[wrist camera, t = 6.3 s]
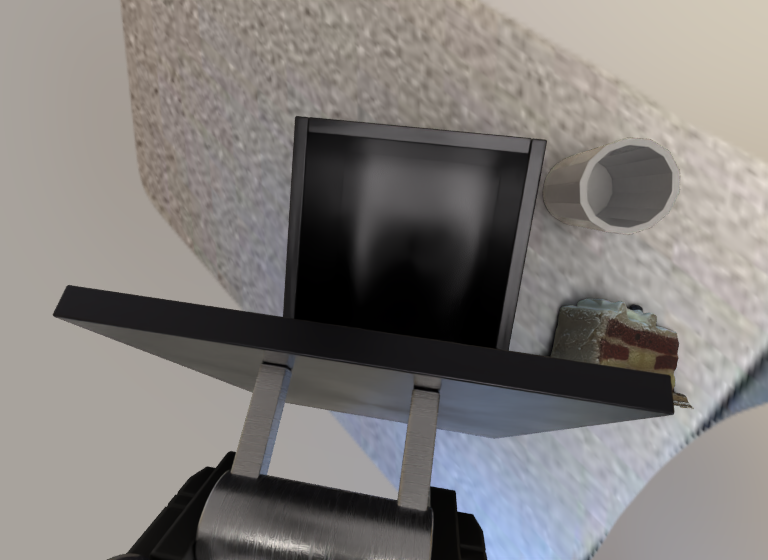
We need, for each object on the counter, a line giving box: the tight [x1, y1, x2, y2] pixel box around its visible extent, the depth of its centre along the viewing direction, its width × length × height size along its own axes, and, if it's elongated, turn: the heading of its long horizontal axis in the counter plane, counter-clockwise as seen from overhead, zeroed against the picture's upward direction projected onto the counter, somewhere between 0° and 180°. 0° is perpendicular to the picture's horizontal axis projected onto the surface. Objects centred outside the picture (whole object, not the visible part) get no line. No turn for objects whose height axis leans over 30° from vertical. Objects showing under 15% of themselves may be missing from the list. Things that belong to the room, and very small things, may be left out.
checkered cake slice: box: [551, 298, 693, 409], centre depth 31 cm, size 10×7×12 cm
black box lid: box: [53, 285, 674, 560], centre depth 16 cm, size 17×14×5 cm
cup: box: [543, 137, 680, 235], centre depth 27 cm, size 5×5×8 cm
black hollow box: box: [283, 116, 547, 351], centre depth 29 cm, size 17×14×10 cm
